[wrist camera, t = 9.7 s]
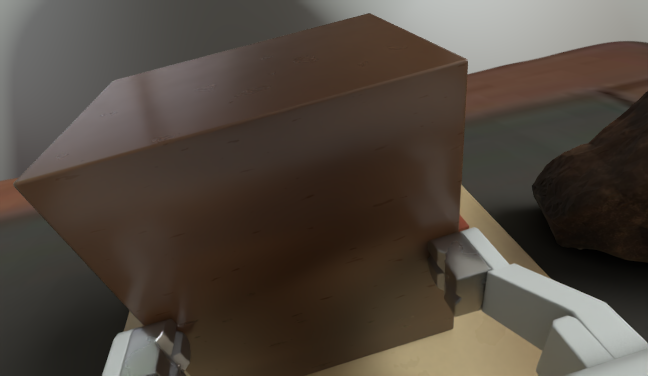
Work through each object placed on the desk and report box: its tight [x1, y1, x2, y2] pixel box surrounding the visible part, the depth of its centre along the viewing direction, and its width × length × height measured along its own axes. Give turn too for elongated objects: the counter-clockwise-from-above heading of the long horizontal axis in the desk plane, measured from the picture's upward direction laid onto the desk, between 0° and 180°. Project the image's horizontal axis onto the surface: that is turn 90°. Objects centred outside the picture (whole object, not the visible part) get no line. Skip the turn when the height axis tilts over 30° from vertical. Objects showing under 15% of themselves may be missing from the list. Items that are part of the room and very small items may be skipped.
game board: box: [124, 185, 551, 376], centre depth 18 cm, size 20×20×1 cm
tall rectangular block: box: [13, 13, 468, 376], centre depth 13 cm, size 10×7×11 cm
